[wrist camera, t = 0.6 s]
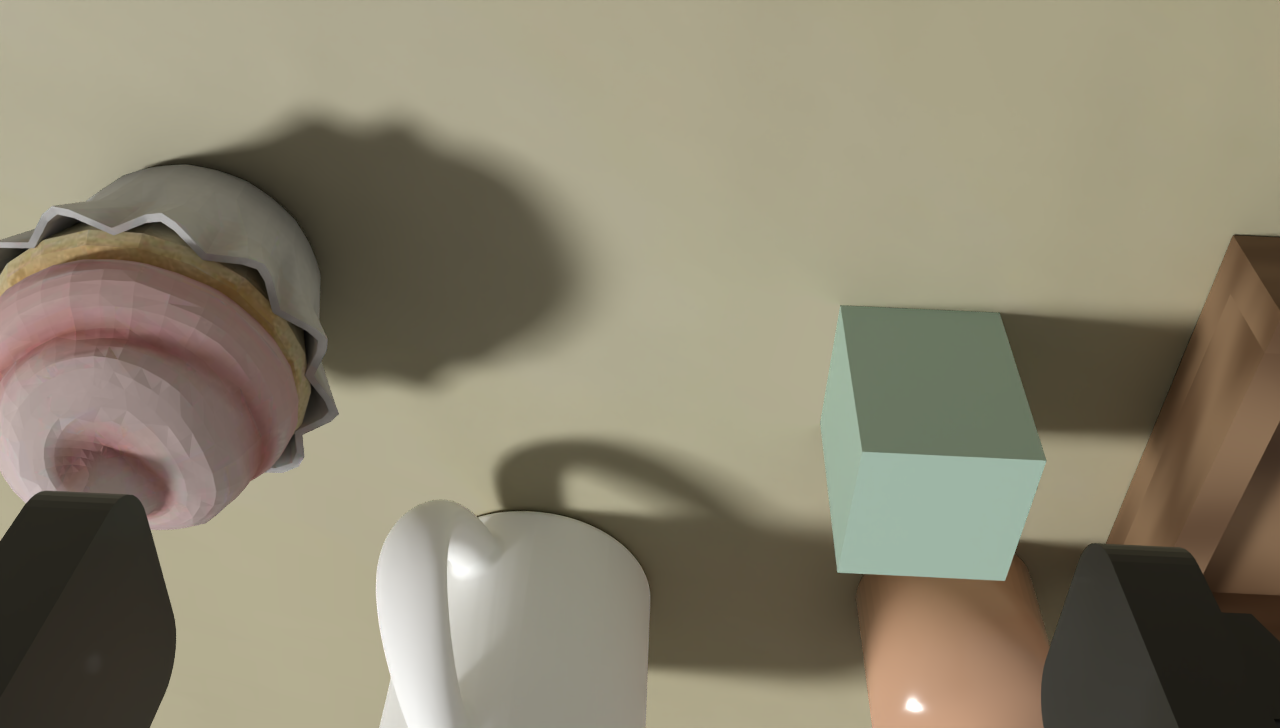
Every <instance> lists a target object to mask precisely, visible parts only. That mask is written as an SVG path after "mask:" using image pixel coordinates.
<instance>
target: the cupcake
mask: <svg viewBox="0 0 1280 728" xmlns="http://www.w3.org/2000/svg"><path fill="white" fill-rule="evenodd" d="M319 313H320V271H319V268H318V265H317V261H316V258H315V256H314V253H313V251H312V248H311V246H310V244H309V242H308V240H307V238H306V237H305V235H304V233H303V231H302V230H301V228H300V227H299V225H298V223H297V222H296V220H295V219H294V218H293V217H292V216H291V215H290V214H289V213H288V212H287V211H286V210H285V209H284V208H283V207H282V206H281V205H279V204H278V203H277V202H276V201H275V200H274V199H273V198H271V197H270V196H268V195H267V194H266V193H264V192H263V191H261V190H260V189H258V188H257V187H255V186H254V185H252V184H251V183H249V182H248V181H245V180H242V179H240V178H237V177H235V176H232V175H230V174H227V173H224V172H221V171H218V170H214V169H209V168H205V167H199V166H194V165H188V164H184V165H168V166H159V167H151V168H147V169H143V170H139V171H136V172H133V173H130V174H126V175H123V176H122V177H120V178H119V179H117V180H116V181H114V182H113V183H111V184H109V185H108V186H106V187H105V188H103V189H102V190H100V191H99V192H98V193H96V194H95V195H93V196H92V197H91V198H89V199H88V200H87V201H85V202H79V203H72V204H64V205H57V206H52V207H50V208H49V209H48V210H47V211H46V212H44V213H43V214H42V216H41V218H40V220H39V222H38V224H37V226H36V228H35V229H33V230H30V231H27V232H24V233H21V234H17V235H14V236H11V237H8V238H5V239H2V240H0V471H1V473H2V475H3V477H4V479H5V480H6V481H7V483H8V484H9V486H10V487H11V488H12V490H13V491H14V492H15V493H16V494H17V495H18V496H19V497H20V498H21V499H22V500H23V501H24V502H25V503H27V502H28V501H29V499H30V498H32V497H33V496H34V495H35V494H37V493H39V492H41V491H67V492H88V493H109V494H129V495H134V496H135V497H137V498H138V499H139V500H140V501H141V503H142V505H143V507H144V509H145V512H146V515H147V519H148V522H149V526H150V529H152V530H169V529H180V528H186V527H191V526H195V525H200V524H205V523H206V522H208V521H209V520H211V519H212V518H213V517H215V516H216V515H217V514H218V513H219V512H220V511H221V510H223V509H224V508H225V507H226V506H227V505H228V504H229V503H231V502H232V501H233V500H234V499H235V498H237V496H238V495H239V494H240V493H241V492H242V491H243V490H244V489H245V487H246V486H247V485H248V484H249V482H250V481H251V480H253V479H255V478H257V477H258V476H260V475H261V474H263V473H264V472H274V473H283V472H286V471H288V470H291V469H293V468H296V467H298V466H299V465H300V463H301V461H302V460H303V458H304V448H303V437H302V435H303V434H305V433H307V432H309V431H311V430H314V429H316V428H318V427H320V426H322V425H324V424H327V423H329V422H331V421H332V420H333V419H334V418H335V417H336V416H337V415H338V414H339V413H338V410H337V408H336V405H335V402H334V399H333V396H332V393H331V390H330V386H329V383H328V380H327V377H326V374H325V370H324V367H323V364H322V359H323V357H324V355H325V353H326V351H327V343H328V338H327V336H326V334H325V332H324V330H323V328H322V326H321V324H320V321H319Z"/></svg>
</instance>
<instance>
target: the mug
mask: <svg viewBox="0 0 1280 728" xmlns="http://www.w3.org/2000/svg"><path fill="white" fill-rule="evenodd" d="M376 601H377V612H378V620H379V626H380V632H381V638H382V642H383V647H384V652H385V656H386V660H387V664H388V668H389V672H390V675H391V680H390V684H389V689H388V693H387V697H386V702H385V706H384V710H383V714H382V719H381V723H380V727H379V728H646V701H647V675H648V648H649V622H650V588H649V584H648V580H647V578H646V575H645V573H644V571H643V569H642V567H641V566H640V564H639V563H638V561H637V560H636V558H635V557H634V556H633V555H632V554H631V552H629V551H628V550H627V549H626V548H625V547H624V546H623V545H622V544H621V543H620V542H618V541H617V540H616V539H614V538H613V537H611V536H610V535H608V534H607V533H605V532H603V531H601V530H600V529H598V528H595V527H593V526H591V525H589V524H586V523H584V522H581V521H579V520H575V519H572V518H569V517H565V516H561V515H556V514H551V513H544V512H534V511H510V512H500V513H493V514H488V515H483V516H480V517H477V516H476V515H475V514H474V513H473V512H471V511H470V510H469V509H468V508H466V507H464V506H463V505H461V504H459V503H457V502H454V501H450V500H442V499H441V500H432V501H428V502H425V503H422V504H420V505H417V506H416V507H414V508H412V509H411V510H409V511H408V512H407V513H405V514H404V515H403V516H402V517H401V518H400V519H399V520H398V521H397V522H396V524H395V525H394V526H393V527H392V529H391V531H390V532H389V534H388V536H387V537H386V540H385V542H384V544H383V547H382V550H381V553H380V557H379V561H378V566H377V575H376Z"/></svg>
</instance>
